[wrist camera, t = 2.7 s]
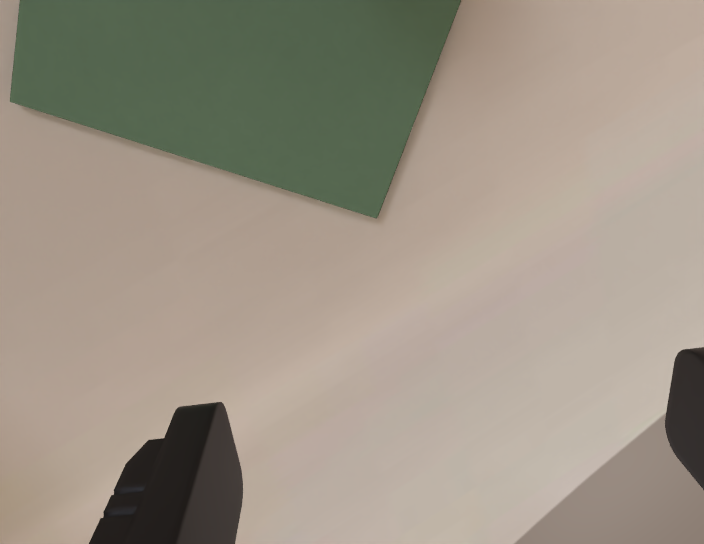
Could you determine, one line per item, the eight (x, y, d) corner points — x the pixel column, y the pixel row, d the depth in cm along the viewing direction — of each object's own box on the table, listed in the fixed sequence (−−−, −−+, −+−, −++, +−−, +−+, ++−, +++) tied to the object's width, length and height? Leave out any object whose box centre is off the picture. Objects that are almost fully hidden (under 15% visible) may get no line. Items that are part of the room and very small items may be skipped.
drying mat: (15, 100, 28) (8, 101, 27) (43, -172, 24) (37, -177, 23) (375, 215, 32) (377, 219, 31) (458, 0, 27) (461, -1, 27)
